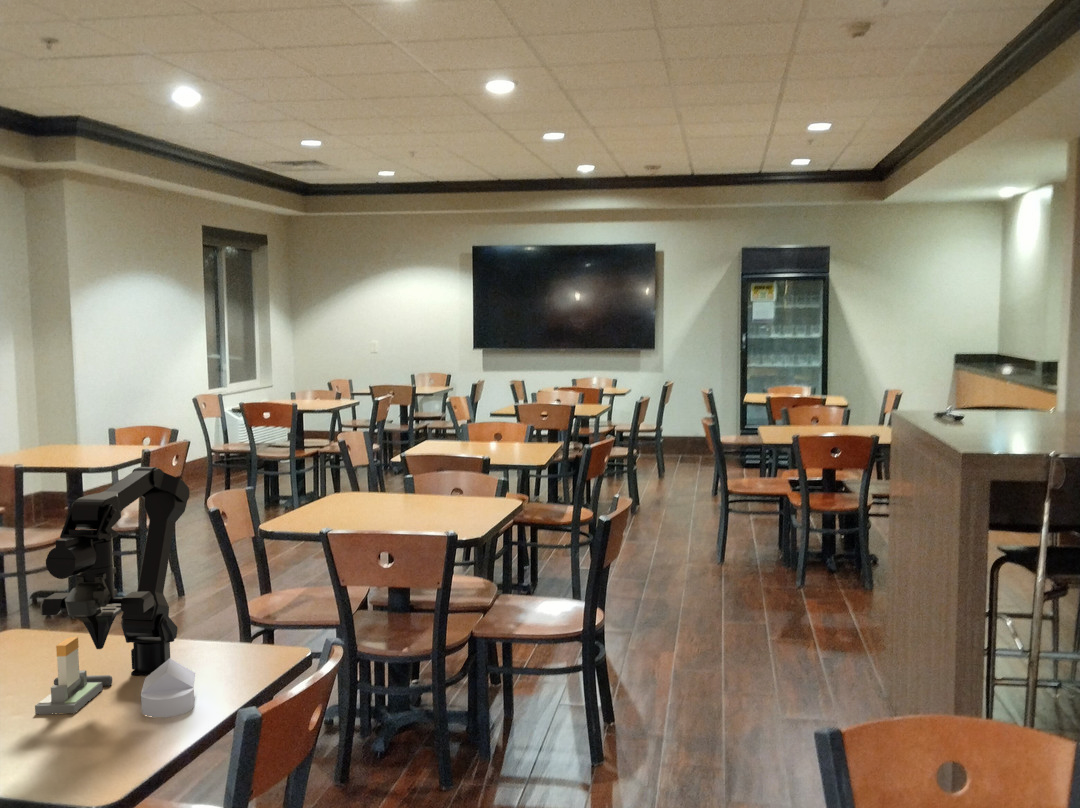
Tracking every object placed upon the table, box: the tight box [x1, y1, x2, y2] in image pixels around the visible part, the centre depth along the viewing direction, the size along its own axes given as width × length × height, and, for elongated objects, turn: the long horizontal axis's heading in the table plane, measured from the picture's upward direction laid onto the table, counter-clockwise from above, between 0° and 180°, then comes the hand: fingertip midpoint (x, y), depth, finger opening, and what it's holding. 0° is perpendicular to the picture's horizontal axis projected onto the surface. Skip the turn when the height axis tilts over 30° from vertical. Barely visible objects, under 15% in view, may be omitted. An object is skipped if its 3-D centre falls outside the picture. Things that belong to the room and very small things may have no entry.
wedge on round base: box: [140, 657, 196, 718], centre depth 184 cm, size 9×7×13 cm
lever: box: [55, 636, 81, 694], centre depth 185 cm, size 2×6×10 cm, turn 1°
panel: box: [34, 669, 104, 715], centre depth 185 cm, size 7×12×4 cm, turn 1°
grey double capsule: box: [53, 674, 113, 687], centre depth 195 cm, size 11×3×2 cm, turn 91°
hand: (99, 648), depth 185 cm, fingers closed
